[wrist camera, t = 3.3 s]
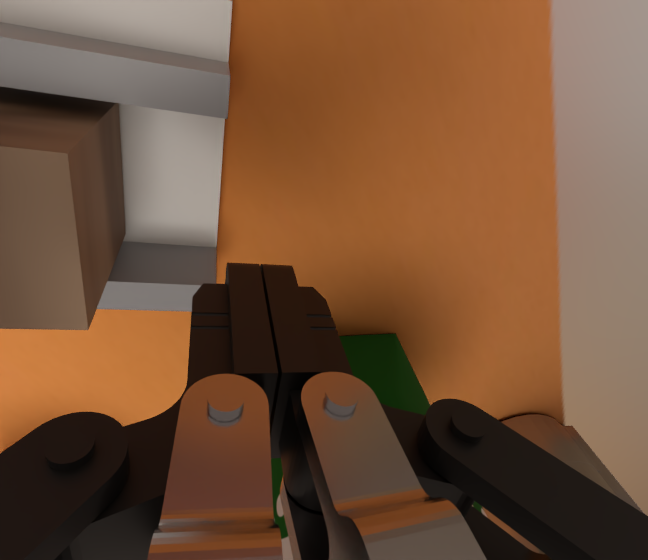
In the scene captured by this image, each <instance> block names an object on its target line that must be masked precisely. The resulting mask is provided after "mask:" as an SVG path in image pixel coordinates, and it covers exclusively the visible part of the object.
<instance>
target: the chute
mask: <svg viewBox="0 0 648 560" xmlns="http://www.w3.org/2000/svg"><path fill="white" fill-rule="evenodd" d="M231 15H232V1H230V0H0V86H1V87H8V88H15V89H22V90H29V91H36V92H43V93H50V94H57V95H64V96H71V97H78V98H85V99H92V100H99V101H106V102H113V103H119V119H120V138H121V156H122V174H123V193H124V211H125V229H126V235H125V237H124V240H123V242H122V245H121V247H120V250H119V252H118V255H117V258H116V260H115V263H114V265H113V268H112V270H111V273H110V276H109V278H108V281H107V283H106V286H105V288H104V291H103V294H102V296H101V299H100V301H99V304H98V306H97V309H120V310H155V311H191V312H192V298H193V295H194V294H195V293H196V292H197V290H198V289H199V288H200V287H201V285H202V284H203V283H211V284H216V247H217V232H218V216H219V201H220V186H221V170H222V155H223V139H224V124H225V119H227V118H228V104H229V89H230V70H229V63H228V62H229V46H230V31H231Z"/></svg>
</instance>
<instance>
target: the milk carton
mask: <svg viewBox="0 0 648 560" xmlns="http://www.w3.org/2000/svg"><path fill="white" fill-rule="evenodd" d="M339 337H340V340H341V343H342V346H343V348H344V351H345V354H346V356H347V359H348V362H349V365H350V367H351V370H352V373H353V376H354V377H356V378H358V379H360V380H362V381H363V382H364V383H366V384H367V385H368V386H369V387H370V388H371V389H372V390H373V392H374V393H375V395H376V396H377V398H378V400H379V402H380V403H382V404H384V405H387V406H390V407H393V408H397V409H401V410H405V411H410V412H414V413H418V414H422V415H425V414H426V412H427V410H428V408H429V407H430V404H429V401H428V399H427V397H426V395H425V393H424V391H423V389H422V387H421V385H420V383H419V381H418V379H417V377H416V375H415V373H414V371H413V369H412V367H411V365H410V363H409V361H408V358H407V356H406V354H405V352H404V350H403V348H402V346H401V344H400V342H399V340H398V338H397V336H396V334H375V335H354V336H339ZM271 472H272V496H273V515H274V521H275V524H278V525H279V528H280V533H281V541H282V553H283V560H293V555H292V550H291V546H290V541H289V536H288V532H287V527H286V522H285V518H284V513H283V508H282V504H281V499H280V487H281V482H282V478H283V470H282V463H281V458H272V459H271ZM472 506H473V507H474V508H475V509H477V510H478V511H479V512H481V513H482V514H483V515H485V516H486V517H487V515H486V513H485V511H484V509H483V507H482V506H481V505H480V504H478V503H477V502H476V501H475V502H474V503H473V505H472ZM487 518H488V517H487Z"/></svg>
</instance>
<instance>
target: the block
mask: <svg viewBox="0 0 648 560" xmlns="http://www.w3.org/2000/svg"><path fill="white" fill-rule="evenodd" d="M125 235H126V229H125V211H124V193H123V174H122V156H121V138H120V119H119V103H113V102H106V101H99V100H92V99H85V98H78V97H71V96H64V95H57V94H50V93H43V92H36V91H29V90H22V89H15V88H8V87H1V86H0V329H59V330H88V329H89V327H90V324H91V322H92V319H93V317H94V314H95V311H96V309H97V306H98V304H99V301H100V299H101V296H102V294H103V291H104V288H105V286H106V283H107V281H108V278H109V276H110V273H111V270H112V268H113V265H114V263H115V260H116V258H117V255H118V252H119V250H120V247H121V245H122V242H123V240H124V237H125Z"/></svg>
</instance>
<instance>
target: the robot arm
mask: <svg viewBox="0 0 648 560" xmlns="http://www.w3.org/2000/svg"><path fill="white" fill-rule="evenodd" d="M272 458H281V463H282V470H283V478H282V482H281V487H280V499H281V504H282V508H283V513H284V518H285V522H286V527H287V532H288V536H289V541H290V546H291V550H292V555H293V560H648V516H647V515H645V514H644V513H643V512H642V510H641V509H640V508H639V507H638V506H637V504H636V503H635V502H634V501H633V499H632V498H631V497H630V496H629V495H628V493H627V492H626V491H625V490H624V488H623V487H622V486H621V485H620V484H619V482H618V481H617V480H616V479H615V477H614V476H613V475H612V474H611V473H610V471H609V470H608V469H607V468H606V467H605V465H604V464H603V463H602V462H601V460H600V459H599V458H598V457H597V456H596V455H595V453H594V452H593V451H592V449H591V448H590V447H589V446H588V445H587V443H586V442H585V441H584V440H583V439H582V437H581V436H580V435H579V434H578V432H577V431H576V430H575V429H574V428H573V426H562V425H561V424H560V423H559V422H558V421H557V420H555V419H554V418H551V417H549V416H545V415H539V414H535V415H523V416H518V417H514V418H511V419H508V420H504V421H502V422H500V421H498V420H497V419H495V418H494V417H492V416H491V415H489V414H487V413H486V412H484V411H483V410H481V409H480V408H478V407H476V406H474V405H472V404H470V403H468V402H465V401H462V400H457V399H442V400H438V401H436V402H434V403H433V404H432V405H431V406H430V407H429V408H428V410H427V412H426V414H425V415H422V414H418V413H414V412H410V411H405V410H401V409H397V408H393V407H390V406H387V405H384V404H382V403H380V402H379V400H378V398H377V396H376V395H375V393H374V392H373V390H372V389H371V388H370V387H369V386H368V385H367V384H366V383H364V382H363V381H362V380H360V379H358V378H356V377H354V376H353V373H352V370H351V367H350V365H349V362H348V359H347V356H346V354H345V351H344V348H343V346H342V343H341V340H340V337H339V335H338V332H337V330H336V326H335V324H334V321H333V318H331V313H330V310H329V307H328V304H327V302H326V300H325V299H324V298H323V297H322V296H321V295H320V294H319V293H318V292H317V291H316V290H315V289H314V288H313V287H298V283H297V280H296V276H295V273H294V269H293V267H292V266H288V265H268V264H261V265H259V264H245V263H227V268H226V280H225V284H211V283H203V284H202V285H201V287H200V288H199V289H198V290H197V292H196V293H195V294H194V295H193V298H192V315H191V330H190V347H189V363H188V379H187V386H186V388H185V391H184V393H183V394H182V396H181V398H180V399H179V400H178V401H177V402H176V403H175V404H174V405H173V406H172V407H170V408H169V409H168V410H166V411H165V412H163V413H161V414H159V415H157V416H155V417H152V418H150V419H147V420H144V421H140V422H137V423H134V424H131V425H127V426H124V427H122V425H121V424H120V423H119V422H118V421H116V420H115V419H114V418H112V417H110V416H108V415H105V414H101V413H96V412H77V413H71V414H67V415H63V416H60V417H57V418H54V419H52V420H50V421H48V422H46V423H44V424H42V425H41V426H39V427H37V428H36V429H34V430H33V431H32V432H30V433H29V434H27V435H26V436H25V437H23V438H22V439H20V440H19V441H17V442H16V443H15V444H13V445H12V446H10V447H9V448H8V449H6V450H5V451H3V452H2V453H1V454H0V560H283V553H282V541H281V533H280V528H279V525H278V524H275V521H274V515H273V496H272V472H271V459H272ZM475 501H476V502H477V503H478V504H480V505H481V506H482V507H483V509H484V511H485V513H486V515H487V517H488V518H487V517H486V516H485V515H483V514H482V513H481V512H479V511H478V510H477V509H475V508H474V507H473V506H472V505H473V503H474V502H475Z"/></svg>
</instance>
